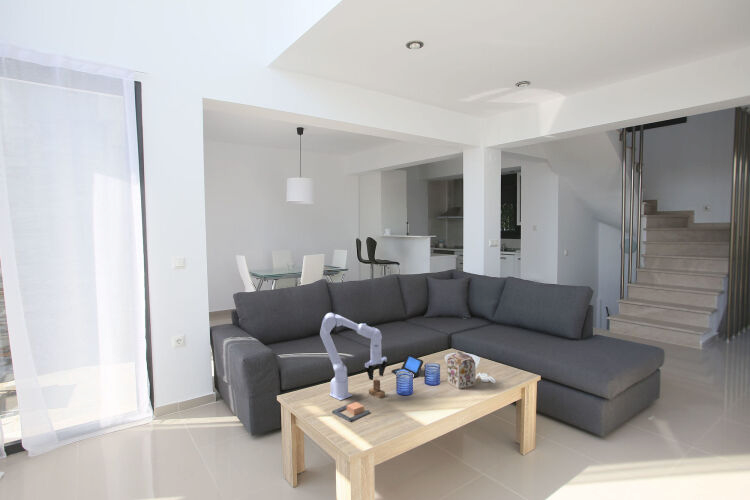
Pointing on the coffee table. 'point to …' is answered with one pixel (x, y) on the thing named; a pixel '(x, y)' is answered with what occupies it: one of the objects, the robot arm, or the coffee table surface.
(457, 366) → the decorative jar
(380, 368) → the robot arm
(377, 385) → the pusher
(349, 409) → the tile
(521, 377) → the coffee table surface
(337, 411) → the frame
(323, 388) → the coffee table surface
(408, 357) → the handheld game console
